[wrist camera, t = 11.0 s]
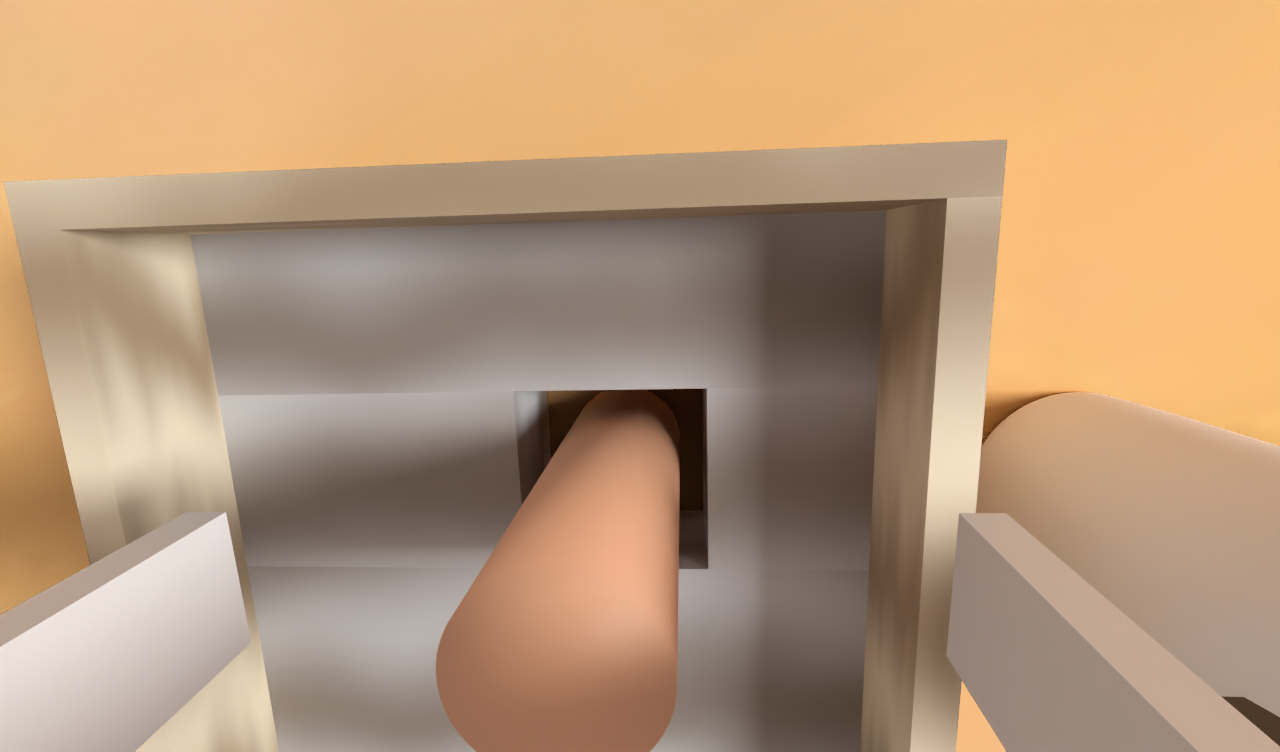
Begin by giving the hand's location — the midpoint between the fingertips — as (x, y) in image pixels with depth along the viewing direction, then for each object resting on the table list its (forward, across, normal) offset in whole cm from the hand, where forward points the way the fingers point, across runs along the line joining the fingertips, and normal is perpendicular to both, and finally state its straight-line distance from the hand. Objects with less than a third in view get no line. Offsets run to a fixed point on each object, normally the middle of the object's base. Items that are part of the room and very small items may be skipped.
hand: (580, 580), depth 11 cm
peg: (+10, 0, -1) cm, 10 cm away
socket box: (+10, -2, -3) cm, 10 cm away
